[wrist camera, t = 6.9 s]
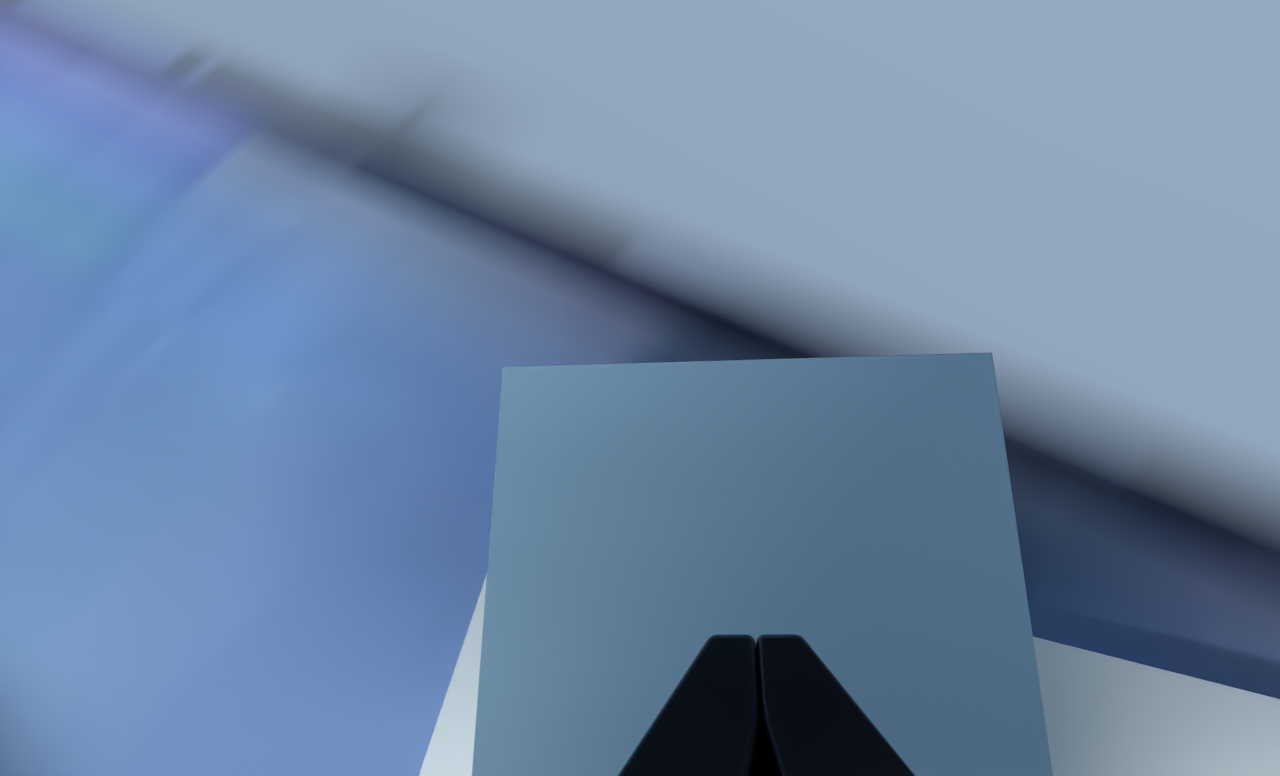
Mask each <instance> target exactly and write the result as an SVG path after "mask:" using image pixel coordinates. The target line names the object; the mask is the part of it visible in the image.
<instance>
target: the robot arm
mask: <svg viewBox="0 0 1280 776" xmlns="http://www.w3.org/2000/svg"><path fill="white" fill-rule="evenodd" d="M618 776H915V775H914V774H913V772H912V771H911V770H910V769H909V767H908V766H907V765H906V764H905V762H904V761H903V760H902V759H901V758H900V756H899V755H898V754H897V753H896V751H895V750H894V749H893V748H892V746H891V745H890V744H889V743H888V741H887V740H886V739H885V738H884V737H883V735H882V734H881V733H880V732H879V730H878V729H877V728H876V727H875V725H874V724H873V723H872V722H871V720H870V719H869V718H868V717H867V716H866V714H865V713H864V712H863V711H862V709H861V708H860V707H859V706H858V704H857V703H856V702H855V701H854V700H853V698H852V697H851V696H850V695H849V693H848V692H847V691H846V690H845V688H844V687H843V686H842V685H841V683H840V682H839V681H838V680H837V679H836V677H835V676H834V675H833V674H832V672H831V671H830V670H829V669H828V667H827V666H826V665H825V664H824V662H823V661H822V660H821V659H820V658H819V656H818V655H817V654H816V653H815V651H814V650H813V649H812V648H811V646H810V645H809V644H808V643H807V642H806V640H805V639H804V638H803V637H801V636H800V635H797V634H763V635H760V636H759V637H758V638H757V640H756V643H755V639H754V638H753V637H752V636H751V635H748V634H716V635H712V636H711V637H709V638H708V640H707V641H706V642H705V644H704V645H703V647H702V648H701V650H700V651H699V653H698V654H697V656H696V658H695V659H694V661H693V662H692V664H691V665H690V667H689V668H688V670H687V671H686V673H685V674H684V676H683V677H682V679H681V680H680V682H679V683H678V685H677V686H676V688H675V689H674V691H673V692H672V694H671V695H670V697H669V698H668V700H667V701H666V703H665V704H664V706H663V708H662V709H661V711H660V712H659V714H658V715H657V717H656V718H655V720H654V721H653V723H652V724H651V726H650V727H649V729H648V730H647V732H646V733H645V735H644V736H643V738H642V739H641V741H640V742H639V744H638V745H637V747H636V748H635V750H634V751H633V753H632V755H631V756H630V758H629V759H628V761H627V762H626V764H625V765H624V767H623V768H622V770H621V771H620V773H619V774H618Z"/></svg>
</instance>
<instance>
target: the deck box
mask: <svg viewBox="0 0 1280 776" xmlns="http://www.w3.org/2000/svg"><path fill="white" fill-rule="evenodd" d="M716 634H748V635H751V636H752V637H753V638H754V639H755V643H756V640H757V638H758V637H759V636H760V635H763V634H797V635H800V636H801V637H803V638H804V639H805V640H806V642H807V643H808V644H809V645H810V646H811V648H812V649H813V650H814V651H815V653H816V654H817V655H818V656H819V658H820V659H821V660H822V661H823V662H824V664H825V665H826V666H827V667H828V669H829V670H830V671H831V672H832V674H833V675H834V676H835V677H836V679H837V680H838V681H839V682H840V683H841V685H842V686H843V687H844V688H845V690H846V691H847V692H848V693H849V695H850V696H851V697H852V698H853V700H854V701H855V702H856V703H857V704H858V706H859V707H860V708H861V709H862V711H863V712H864V713H865V714H866V716H867V717H868V718H869V719H870V720H871V722H872V723H873V724H874V725H875V727H876V728H877V729H878V730H879V732H880V733H881V734H882V735H883V737H884V738H885V739H886V740H887V741H888V743H889V744H890V745H891V746H892V748H893V749H894V750H895V751H896V753H897V754H898V755H899V756H900V758H901V759H902V760H903V761H904V762H905V764H906V765H907V766H908V767H909V769H910V770H911V771H912V772H913V774H914V775H915V776H1053V772H1052V765H1051V758H1050V751H1049V744H1048V737H1047V731H1046V724H1045V717H1044V710H1043V703H1042V696H1041V689H1040V682H1039V675H1038V668H1037V661H1036V655H1035V648H1034V641H1033V634H1032V627H1031V620H1030V613H1029V606H1028V599H1027V592H1026V585H1025V579H1024V572H1023V565H1022V558H1021V551H1020V544H1019V537H1018V530H1017V523H1016V516H1015V509H1014V503H1013V496H1012V489H1011V482H1010V475H1009V468H1008V461H1007V454H1006V447H1005V440H1004V433H1003V427H1002V420H1001V413H1000V406H999V399H998V392H997V385H996V378H995V371H994V364H993V357H992V353H967V354H932V355H898V356H864V357H829V358H795V359H760V360H726V361H692V362H657V363H623V364H588V365H554V366H520V367H502V379H501V393H500V406H499V419H498V432H497V446H496V459H495V472H494V486H493V499H492V512H491V526H490V539H489V552H488V566H487V579H486V592H485V606H484V619H483V632H482V646H481V659H480V672H479V686H478V699H477V712H476V726H475V739H474V752H473V766H472V776H618V774H619V773H620V771H621V770H622V768H623V767H624V765H625V764H626V762H627V761H628V759H629V758H630V756H631V755H632V753H633V751H634V750H635V748H636V747H637V745H638V744H639V742H640V741H641V739H642V738H643V736H644V735H645V733H646V732H647V730H648V729H649V727H650V726H651V724H652V723H653V721H654V720H655V718H656V717H657V715H658V714H659V712H660V711H661V709H662V708H663V706H664V704H665V703H666V701H667V700H668V698H669V697H670V695H671V694H672V692H673V691H674V689H675V688H676V686H677V685H678V683H679V682H680V680H681V679H682V677H683V676H684V674H685V673H686V671H687V670H688V668H689V667H690V665H691V664H692V662H693V661H694V659H695V658H696V656H697V654H698V653H699V651H700V650H701V648H702V647H703V645H704V644H705V642H706V641H707V640H708V638H709V637H711V636H712V635H716Z"/></svg>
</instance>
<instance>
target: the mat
mask: <svg viewBox="0 0 1280 776" xmlns="http://www.w3.org/2000/svg"><path fill="white" fill-rule="evenodd" d="M486 579H487V575H486V578H485V581H484V584H483V587H482V590H481V593H480V596H479V599H478V602H477V605H476V608H475V611H474V614H473V616H472V619H471V622H470V625H469V628H468V631H467V634H466V637H465V640H464V643H463V646H462V649H461V652H460V655H459V658H458V661H457V664H456V667H455V670H454V673H453V676H452V679H451V682H450V685H449V688H448V691H447V694H446V697H445V700H444V703H443V706H442V709H441V711H440V714H439V717H438V720H437V723H436V726H435V729H434V732H433V735H432V738H431V741H430V744H429V747H428V750H427V753H426V756H425V759H424V762H423V765H422V768H421V771H420V774H419V776H472V766H473V752H474V739H475V726H476V712H477V699H478V686H479V672H480V659H481V646H482V632H483V619H484V606H485V592H486ZM1033 641H1034V648H1035V655H1036V661H1037V668H1038V675H1039V682H1040V689H1041V696H1042V703H1043V710H1044V717H1045V724H1046V731H1047V737H1048V744H1049V751H1050V758H1051V765H1052V772H1053V776H1280V699H1277V698H1273V697H1269V696H1265V695H1261V694H1257V693H1253V692H1249V691H1245V690H1241V689H1238V688H1234V687H1230V686H1226V685H1222V684H1218V683H1214V682H1210V681H1206V680H1202V679H1198V678H1194V677H1190V676H1186V675H1183V674H1179V673H1175V672H1171V671H1167V670H1163V669H1159V668H1155V667H1151V666H1147V665H1143V664H1139V663H1135V662H1131V661H1128V660H1124V659H1120V658H1116V657H1112V656H1108V655H1104V654H1100V653H1096V652H1092V651H1088V650H1084V649H1080V648H1076V647H1073V646H1069V645H1065V644H1061V643H1057V642H1053V641H1049V640H1045V639H1041V638H1037V637H1033Z"/></svg>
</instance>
